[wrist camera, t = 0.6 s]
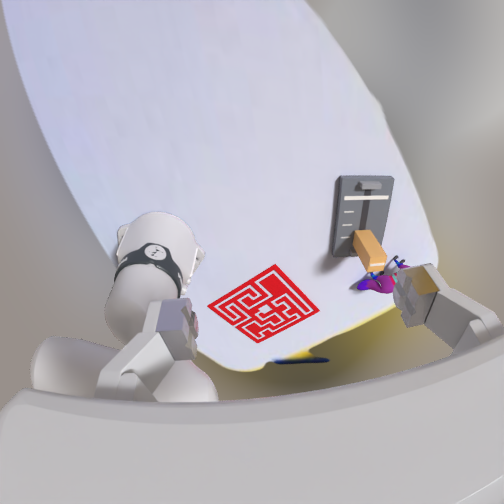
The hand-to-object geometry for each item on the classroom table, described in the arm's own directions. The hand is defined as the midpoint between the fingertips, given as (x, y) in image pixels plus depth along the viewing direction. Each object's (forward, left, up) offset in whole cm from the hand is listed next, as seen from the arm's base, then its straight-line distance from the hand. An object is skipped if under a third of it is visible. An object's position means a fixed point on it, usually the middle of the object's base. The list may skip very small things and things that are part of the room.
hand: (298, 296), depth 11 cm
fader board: (-10, -29, -42) cm, 52 cm away
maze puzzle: (-41, -21, -43) cm, 63 cm away
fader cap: (-14, -30, -41) cm, 53 cm away
